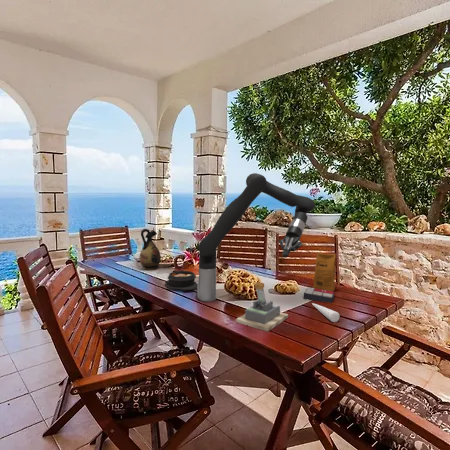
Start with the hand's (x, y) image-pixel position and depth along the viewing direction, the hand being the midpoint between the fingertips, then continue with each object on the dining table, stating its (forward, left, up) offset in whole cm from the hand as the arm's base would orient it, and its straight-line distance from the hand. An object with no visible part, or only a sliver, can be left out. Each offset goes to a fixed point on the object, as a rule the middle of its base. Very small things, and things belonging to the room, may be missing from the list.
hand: (284, 256), depth 160 cm
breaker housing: (0, -20, -24) cm, 32 cm away
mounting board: (0, -20, -26) cm, 33 cm away
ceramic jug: (-115, +11, -26) cm, 119 cm away
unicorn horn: (+19, +5, -26) cm, 33 cm away
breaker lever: (0, -20, -19) cm, 28 cm away
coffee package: (+6, +41, -26) cm, 49 cm away
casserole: (-64, -7, -26) cm, 70 cm away
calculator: (+9, +25, -26) cm, 38 cm away
